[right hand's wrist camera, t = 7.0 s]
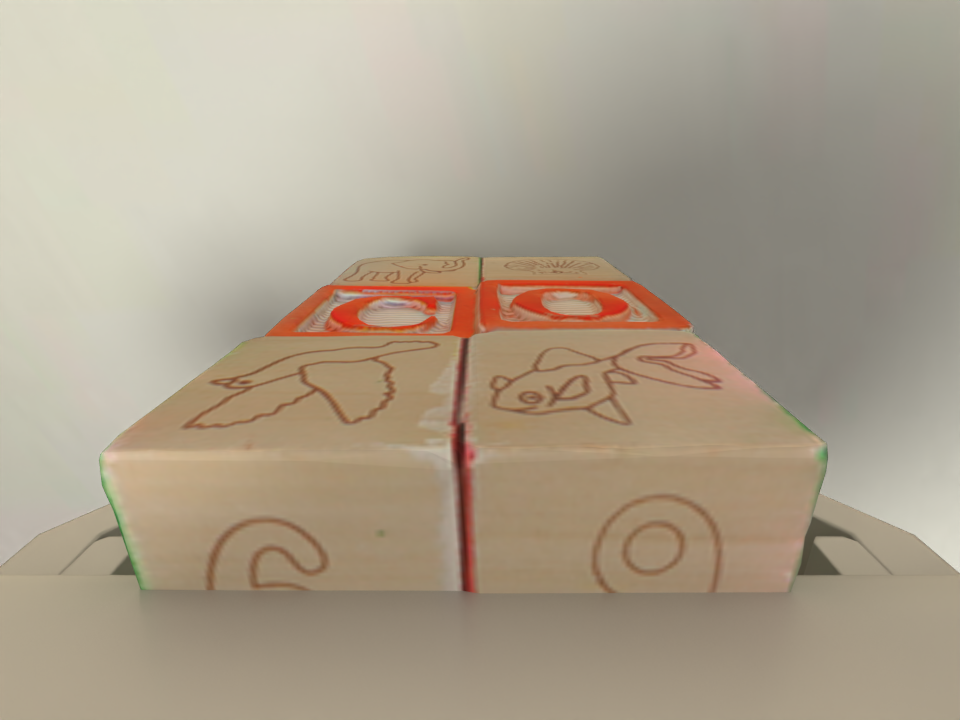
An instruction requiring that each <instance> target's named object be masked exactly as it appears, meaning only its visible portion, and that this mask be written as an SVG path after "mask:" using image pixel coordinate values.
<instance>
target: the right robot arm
mask: <svg viewBox="0 0 960 720" xmlns="http://www.w3.org/2000/svg"><path fill="white" fill-rule="evenodd" d="M0 720H960V573H959V572H957V571H956V570H955V569H954V568H953V567H952V566H950V565H949V564H948V563H947V562H946V561H944V560H943V559H942V558H941V557H940V556H939V555H937V554H936V553H935V552H934V551H933V550H932V549H930V548H929V547H928V546H927V545H926V544H925V543H923V542H922V541H921V540H920V539H919V538H917V537H916V536H915V535H913V534H911V533H909V532H906V531H904V530H902V529H900V528H897V527H895V526H893V525H890V524H888V523H886V522H883V521H881V520H879V519H877V518H874V517H872V516H870V515H867V514H865V513H863V512H861V511H858V510H856V509H854V508H851V507H849V506H847V505H844V504H842V503H840V502H838V501H835V500H833V499H831V498H828V497H826V496H824V495H822V494H819V495H818V499H817V502H816V506H815V509H814V513H813V516H812V520H811V523H810V526H809V528H808V530H807V533H806V535H805V540H804V547H803V554H802V561H801V566H800V568H799V571H798V574H797V576H796V579H795V582H794V584H793V587H792V589H791V592H726V593H521V594H479V593H473V592H466V591H313V590H141V589H140V586H139V583H138V581H137V578H136V575H135V572H134V569H133V567H132V564H131V561H130V558H129V555H128V552H127V549H126V546H125V543H124V540H123V538H122V535H121V532H120V529H119V526H118V523H117V520H116V517H115V514H114V511H113V509H112V507H111V504H108V505H106V506H104V507H101V508H99V509H97V510H94V511H92V512H90V513H87V514H85V515H83V516H80V517H78V518H76V519H74V520H71V521H69V522H67V523H64V524H62V525H60V526H57V527H55V528H53V529H50V530H48V531H46V532H43V533H41V534H39V535H38V536H36V537H35V538H34V539H33V540H32V541H30V542H29V543H28V544H27V545H26V546H24V547H23V548H22V549H21V550H20V551H18V552H17V553H16V554H15V555H14V556H12V557H11V558H10V559H9V560H8V561H6V562H5V563H4V564H3V565H2V566H0Z"/></svg>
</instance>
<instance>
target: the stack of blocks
mask: <svg viewBox="0 0 960 720" xmlns="http://www.w3.org/2000/svg"><path fill="white" fill-rule="evenodd" d="M693 330H694V326H693V325H692V324H691V323H690V322H689V321H688V320H686V319H685V318H684V317H683V316H681V315H680V314H679V313H677V312H676V311H675V310H674V309H672V308H671V307H670V306H668V305H667V304H666V303H665V302H663V301H662V300H661V299H659V298H658V297H657V296H655V295H654V294H652V293H651V292H650V291H648V290H647V289H646V288H644V287H643V286H642V285H640V284H638V283H636V282H634V281H632V279H631V278H629V277H628V276H626V275H625V274H624V273H622V272H621V271H619V270H618V269H617V268H616V267H614V266H612V265H611V264H610V263H608V262H607V261H606V260H604V259H603V258H600V257H487V258H480V257H462V256H411V257H383V258H368V259H363V260H360V261H357V262H356V263H354V264H353V265H352V266H350V267H349V268H348V269H347V270H346V271H345V272H343V273H342V274H341V275H340V276H339V277H338V278H337V279H336V280H334V281H333V282H332V283H331V284H330V285H327V286H324V287H322V288H320V289H319V290H317V291H316V292H315V293H314V294H313V295H312V296H310V297H309V298H308V299H307V300H305V301H304V302H303V303H302V304H301V305H299V306H298V307H297V308H296V309H294V310H293V311H292V312H290V313H289V314H288V315H287V316H285V317H284V318H283V319H282V320H281V321H280V322H279V323H278V324H277V325H276V326H275V327H273V328H272V329H271V330H270V331H269V332H268V333H267V334H266V335H265V337H260V338H254V339H251V340H248V341H245V342H242V343H241V344H240V345H238V346H237V347H236V348H235V349H234V350H233V351H231V352H230V353H229V354H227V355H226V356H225V357H223V358H222V359H221V360H219V361H218V362H217V363H215V364H214V365H213V366H211V367H210V368H209V369H207V370H206V371H205V372H203V373H202V374H200V375H199V376H198V377H196V378H195V379H194V380H192V381H191V382H189V383H188V384H187V385H185V386H184V387H183V388H182V389H180V390H179V391H178V392H176V393H175V394H174V395H172V396H171V397H170V398H168V399H167V400H166V401H164V402H163V403H162V404H160V405H159V406H157V407H156V408H155V409H153V410H152V411H151V412H149V413H148V414H147V415H145V416H144V417H143V418H141V419H140V420H139V421H137V422H136V423H135V424H133V425H132V426H131V427H129V428H128V429H127V430H125V431H124V432H122V433H121V434H120V435H119V436H118V437H117V438H116V439H115V440H114V441H113V442H112V443H111V444H110V445H109V446H108V447H107V448H106V449H105V450H104V451H103V452H102V453H101V455H100V459H99V463H100V472H101V480H102V486H103V488H104V491H105V493H106V495H107V498H108V500H109V502H110V504H111V507H112V509H113V511H114V514H115V517H116V520H117V523H118V526H119V529H120V532H121V535H122V538H123V540H124V543H125V546H126V549H127V552H128V555H129V558H130V561H131V564H132V567H133V569H134V572H135V575H136V578H137V581H138V583H139V586H140V589H141V590H313V591H466V592H473V593H479V594H521V593H726V592H791V589H792V587H793V584H794V582H795V579H796V576H797V574H798V571H799V568H800V566H801V561H802V554H803V547H804V540H805V535H806V533H807V530H808V528H809V526H810V523H811V520H812V516H813V513H814V509H815V506H816V502H817V499H818V495H819V492H820V489H821V486H822V483H823V480H824V476H825V473H826V468H827V460H828V452H827V444H826V443H825V442H824V441H823V440H822V439H820V438H819V437H818V436H817V435H815V434H814V433H813V432H812V431H811V430H809V429H808V428H807V427H806V426H805V425H804V424H802V423H801V422H800V421H799V420H798V419H796V418H795V417H794V416H793V415H792V414H791V413H789V412H788V411H787V410H786V409H785V408H784V407H783V406H781V405H780V404H779V403H778V402H777V401H776V400H774V399H773V398H772V397H771V396H770V395H768V394H767V393H766V392H765V391H764V390H762V389H761V388H760V387H759V386H758V385H756V384H755V383H754V382H753V381H752V380H750V379H749V378H748V377H747V376H745V375H744V374H743V373H742V372H740V371H739V370H738V369H737V368H735V367H734V366H733V365H732V364H730V363H729V362H728V361H727V360H726V359H725V358H724V357H723V356H722V355H720V354H719V353H718V352H717V351H716V350H715V349H713V348H712V347H711V346H709V345H708V344H707V343H705V342H703V341H701V340H700V338H699V337H698V336H697V335H695V334H693Z"/></svg>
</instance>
